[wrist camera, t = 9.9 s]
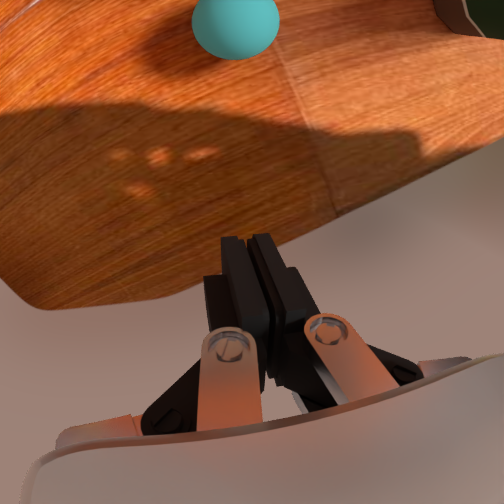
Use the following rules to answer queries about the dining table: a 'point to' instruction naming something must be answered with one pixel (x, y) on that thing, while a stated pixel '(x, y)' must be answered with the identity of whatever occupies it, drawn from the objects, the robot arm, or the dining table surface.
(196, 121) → the dining table surface
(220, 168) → the dining table surface
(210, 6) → the ball
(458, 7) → the beer bottle
